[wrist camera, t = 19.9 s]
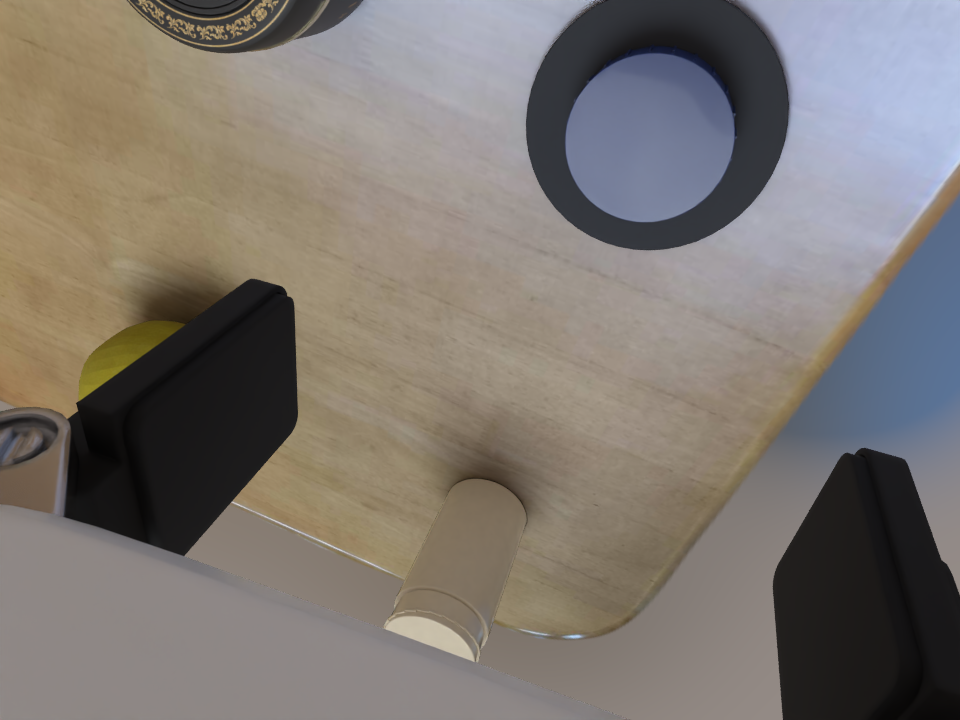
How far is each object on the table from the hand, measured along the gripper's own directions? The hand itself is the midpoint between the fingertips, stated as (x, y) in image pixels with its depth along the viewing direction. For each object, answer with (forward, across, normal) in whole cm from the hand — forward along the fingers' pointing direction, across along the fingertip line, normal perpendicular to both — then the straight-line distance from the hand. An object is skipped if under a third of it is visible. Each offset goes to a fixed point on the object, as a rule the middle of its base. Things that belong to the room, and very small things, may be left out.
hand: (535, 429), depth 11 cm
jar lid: (+20, 0, 0) cm, 20 cm away
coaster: (+22, 0, 0) cm, 22 cm away
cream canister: (+22, +4, +26) cm, 34 cm away
